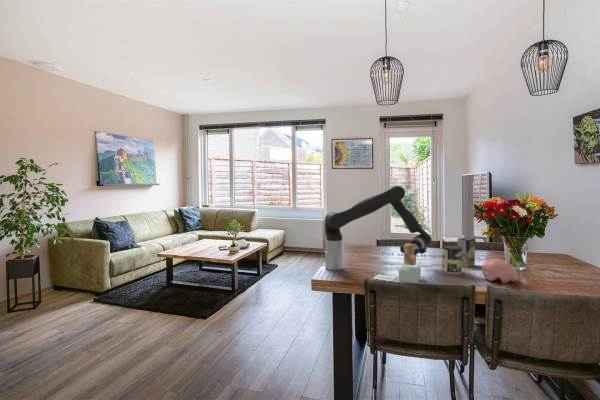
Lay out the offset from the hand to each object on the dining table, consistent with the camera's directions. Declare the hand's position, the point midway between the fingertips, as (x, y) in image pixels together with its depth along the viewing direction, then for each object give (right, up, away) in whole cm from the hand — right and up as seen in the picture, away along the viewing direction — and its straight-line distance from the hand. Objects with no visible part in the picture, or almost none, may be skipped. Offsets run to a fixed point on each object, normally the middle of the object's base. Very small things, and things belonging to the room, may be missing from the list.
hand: (409, 252), depth 165 cm
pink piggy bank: (+46, -15, 0) cm, 48 cm away
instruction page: (-11, -15, +6) cm, 19 cm away
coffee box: (+44, -13, +29) cm, 54 cm away
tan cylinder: (+1, -6, +3) cm, 7 cm away
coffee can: (+29, -14, +17) cm, 37 cm away
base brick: (+1, -15, +3) cm, 15 cm away
